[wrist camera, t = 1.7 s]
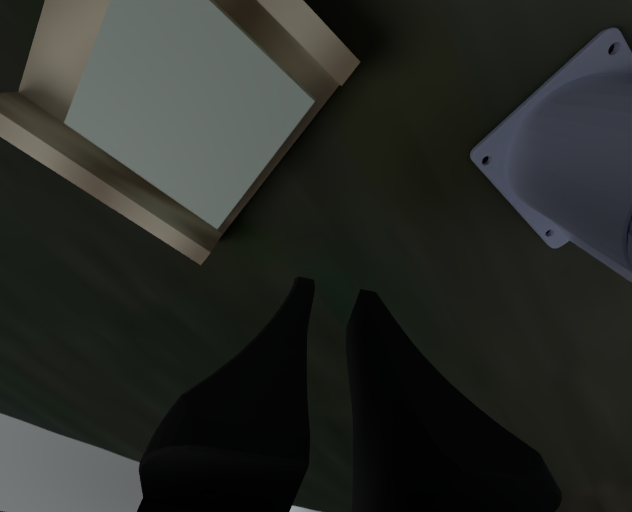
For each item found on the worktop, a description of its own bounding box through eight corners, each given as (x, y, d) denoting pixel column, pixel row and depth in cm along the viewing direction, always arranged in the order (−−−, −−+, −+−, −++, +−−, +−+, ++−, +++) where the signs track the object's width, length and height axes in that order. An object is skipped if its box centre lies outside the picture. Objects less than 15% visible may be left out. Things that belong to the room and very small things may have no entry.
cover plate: (316, 98, 16) (314, 101, 14) (226, 216, 20) (217, 229, 18) (161, -51, 13) (137, -69, 12) (90, 118, 17) (63, 122, 15)
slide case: (355, 64, 16) (360, 62, 13) (216, 242, 21) (200, 264, 19) (113, -195, 12) (52, -271, 9) (20, 109, 17) (-33, 115, 15)
